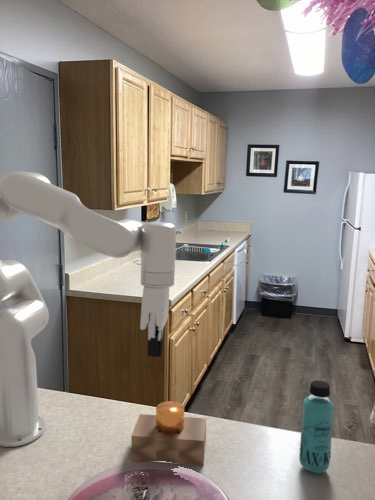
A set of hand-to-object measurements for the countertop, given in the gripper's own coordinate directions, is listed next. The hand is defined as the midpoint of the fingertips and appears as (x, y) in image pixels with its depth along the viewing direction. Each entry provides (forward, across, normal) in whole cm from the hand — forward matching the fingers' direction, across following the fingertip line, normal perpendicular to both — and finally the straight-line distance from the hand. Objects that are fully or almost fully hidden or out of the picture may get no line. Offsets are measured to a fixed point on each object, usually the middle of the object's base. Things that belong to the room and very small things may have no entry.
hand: (155, 355), depth 99 cm
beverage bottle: (+21, +5, +37) cm, 43 cm away
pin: (+21, +3, +5) cm, 22 cm away
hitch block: (+22, +3, +5) cm, 22 cm away
